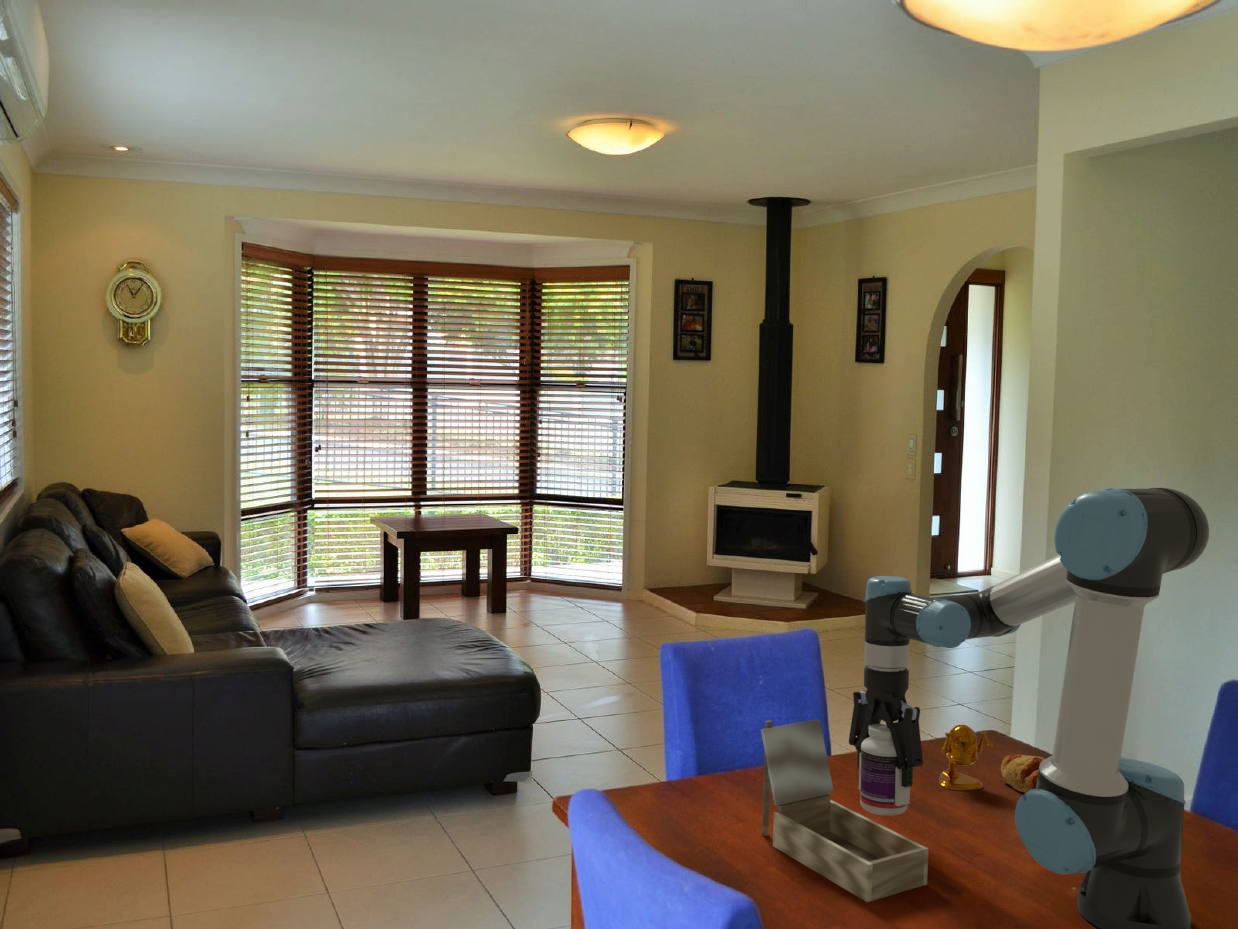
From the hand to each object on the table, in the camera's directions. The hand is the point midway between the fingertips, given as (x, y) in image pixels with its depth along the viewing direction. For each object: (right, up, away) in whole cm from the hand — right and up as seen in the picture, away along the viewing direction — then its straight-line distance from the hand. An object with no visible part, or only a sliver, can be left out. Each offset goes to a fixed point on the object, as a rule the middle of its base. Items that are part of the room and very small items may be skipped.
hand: (883, 796), depth 187 cm
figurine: (+21, -6, +27) cm, 35 cm away
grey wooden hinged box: (-10, -7, -9) cm, 16 cm away
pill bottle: (0, -3, 0) cm, 3 cm away
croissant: (+36, -7, +26) cm, 45 cm away
